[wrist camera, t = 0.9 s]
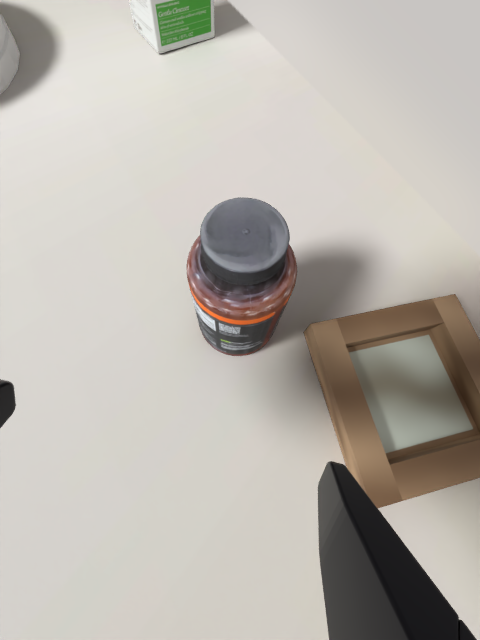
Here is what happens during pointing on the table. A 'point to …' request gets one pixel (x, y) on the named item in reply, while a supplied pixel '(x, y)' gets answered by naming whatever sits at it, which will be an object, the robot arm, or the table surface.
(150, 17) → the skincare box
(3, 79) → the dish
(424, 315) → the socket block
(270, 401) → the table surface
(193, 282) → the supplement bottle
